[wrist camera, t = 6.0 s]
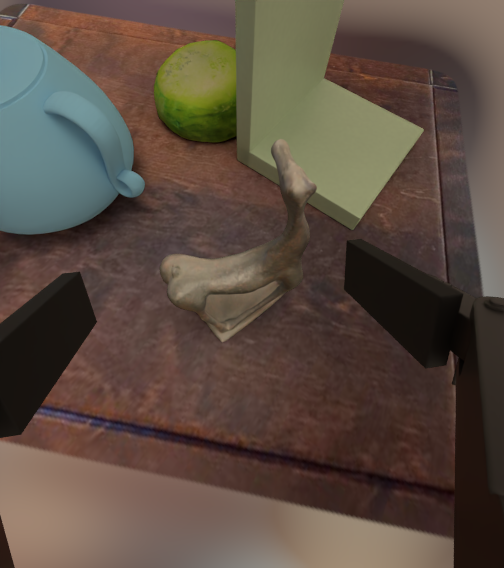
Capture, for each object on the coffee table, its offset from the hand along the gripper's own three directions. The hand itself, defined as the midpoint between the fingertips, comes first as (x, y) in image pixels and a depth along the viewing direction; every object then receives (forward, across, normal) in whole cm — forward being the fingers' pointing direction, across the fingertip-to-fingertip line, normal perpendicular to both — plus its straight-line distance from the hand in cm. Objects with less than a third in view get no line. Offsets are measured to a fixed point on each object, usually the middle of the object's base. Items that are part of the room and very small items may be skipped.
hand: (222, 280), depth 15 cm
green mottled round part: (+25, +1, +11) cm, 27 cm away
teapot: (+18, -15, +3) cm, 24 cm away
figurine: (+9, 0, -6) cm, 11 cm away
